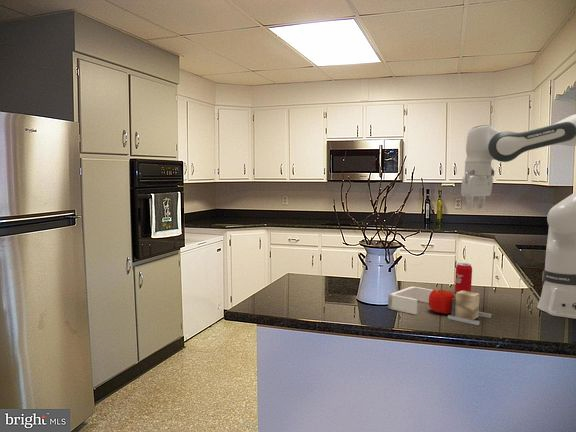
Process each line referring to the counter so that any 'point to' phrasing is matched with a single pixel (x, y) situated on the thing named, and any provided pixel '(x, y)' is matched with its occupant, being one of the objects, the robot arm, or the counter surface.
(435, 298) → the tomato
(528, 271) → the counter surface
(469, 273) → the beverage can
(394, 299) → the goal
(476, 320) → the track
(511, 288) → the counter surface
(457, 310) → the beige block
